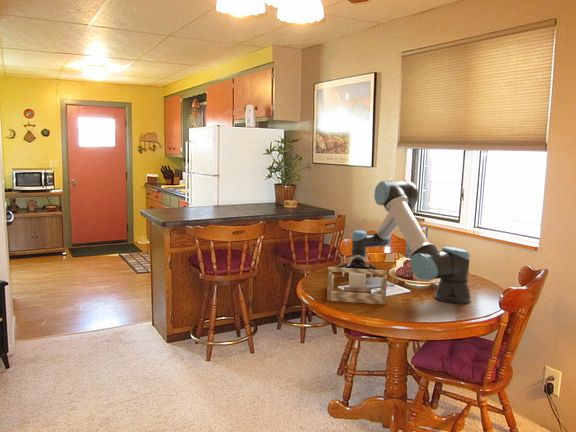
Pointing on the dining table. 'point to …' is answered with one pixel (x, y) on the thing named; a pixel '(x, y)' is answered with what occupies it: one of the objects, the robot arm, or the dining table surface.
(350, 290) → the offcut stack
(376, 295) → the frame
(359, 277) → the white cup
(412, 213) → the robot arm
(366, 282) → the rubber mat
